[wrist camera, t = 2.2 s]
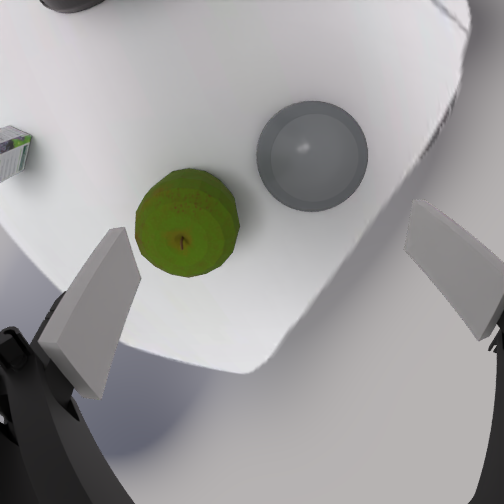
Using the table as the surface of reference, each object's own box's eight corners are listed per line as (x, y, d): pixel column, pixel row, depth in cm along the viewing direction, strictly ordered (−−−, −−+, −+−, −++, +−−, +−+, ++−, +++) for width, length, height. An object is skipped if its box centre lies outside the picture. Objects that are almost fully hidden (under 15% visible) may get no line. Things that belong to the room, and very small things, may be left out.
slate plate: (248, 201, 35) (249, 206, 34) (265, 91, 28) (267, 90, 27) (349, 214, 37) (353, 218, 36) (373, 116, 30) (379, 117, 29)
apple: (244, 170, 33) (251, 202, 24) (229, 246, 38) (230, 299, 29) (154, 157, 31) (124, 185, 22) (148, 235, 36) (126, 284, 27)
